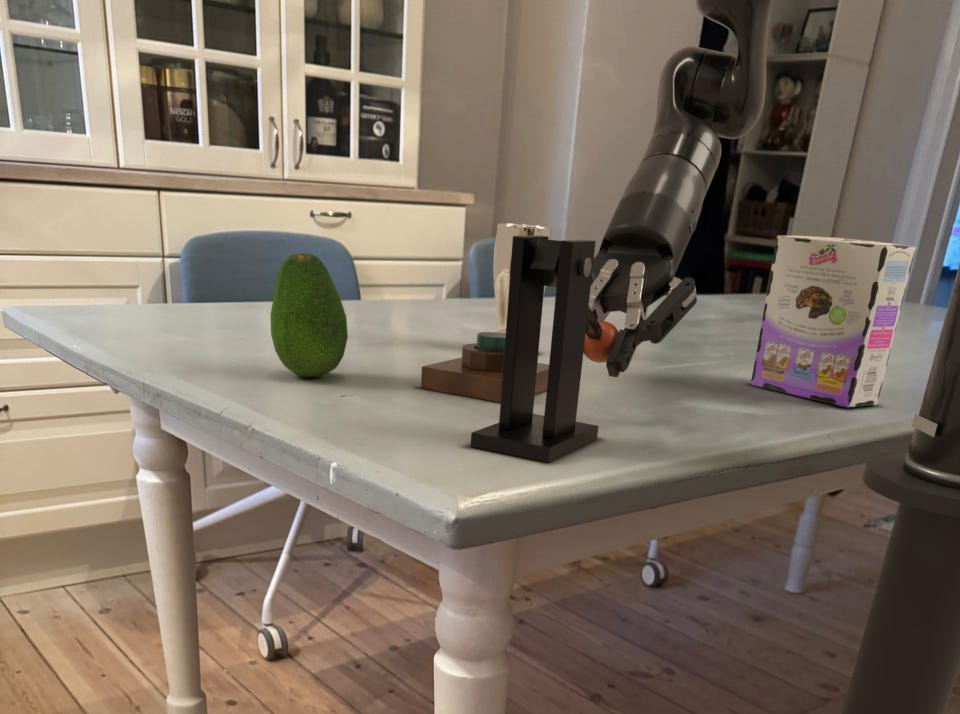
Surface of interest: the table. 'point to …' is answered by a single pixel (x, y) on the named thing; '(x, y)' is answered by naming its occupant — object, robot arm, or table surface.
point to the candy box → (831, 318)
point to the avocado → (307, 317)
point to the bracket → (525, 301)
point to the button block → (474, 375)
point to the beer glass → (508, 264)
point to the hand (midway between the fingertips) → (590, 367)
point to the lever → (597, 332)
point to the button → (491, 341)
